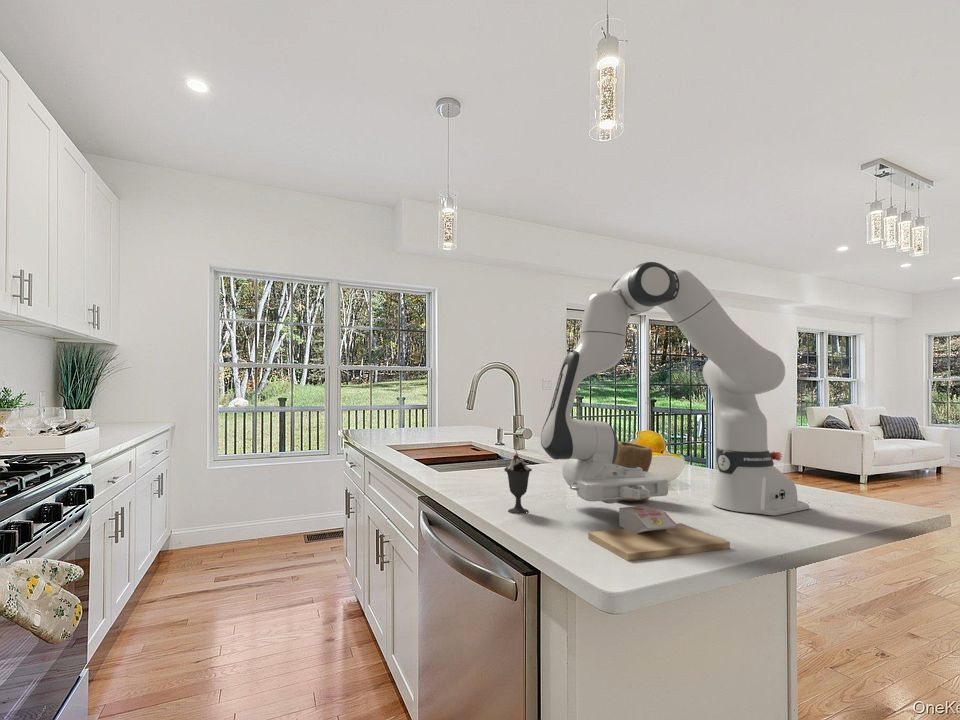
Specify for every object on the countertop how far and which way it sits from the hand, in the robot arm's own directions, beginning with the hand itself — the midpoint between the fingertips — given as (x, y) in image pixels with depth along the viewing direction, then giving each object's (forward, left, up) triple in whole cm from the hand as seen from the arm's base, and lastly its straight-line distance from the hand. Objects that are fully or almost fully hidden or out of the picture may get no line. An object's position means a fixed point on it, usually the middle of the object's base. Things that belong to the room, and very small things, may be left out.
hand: (644, 495), depth 105 cm
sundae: (+17, -26, -8) cm, 32 cm away
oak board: (+1, +5, -8) cm, 10 cm away
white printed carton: (0, -4, -5) cm, 6 cm away
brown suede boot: (-16, -31, -8) cm, 36 cm away
